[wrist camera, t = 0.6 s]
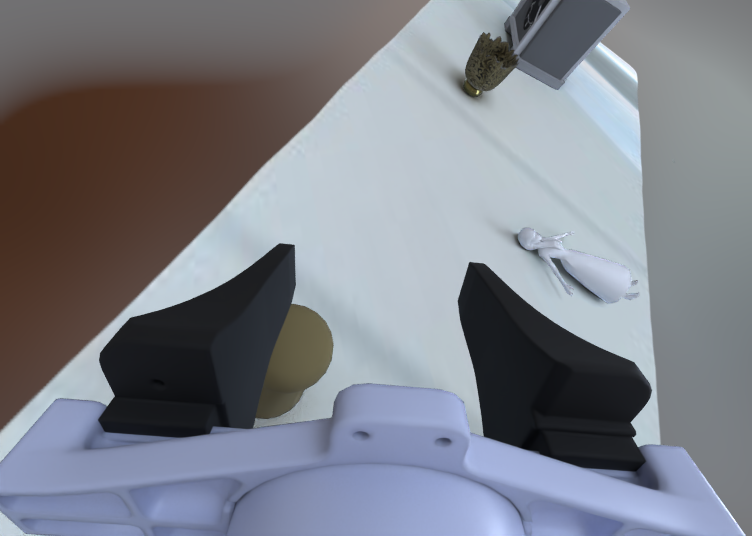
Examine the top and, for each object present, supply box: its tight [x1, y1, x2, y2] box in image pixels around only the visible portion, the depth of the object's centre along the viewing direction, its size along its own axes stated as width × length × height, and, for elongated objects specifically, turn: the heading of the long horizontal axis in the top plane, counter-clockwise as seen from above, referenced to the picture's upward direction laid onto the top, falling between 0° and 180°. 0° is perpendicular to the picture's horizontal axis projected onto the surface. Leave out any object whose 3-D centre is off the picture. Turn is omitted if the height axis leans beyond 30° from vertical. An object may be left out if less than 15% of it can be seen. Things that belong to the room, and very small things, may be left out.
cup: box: [463, 32, 519, 97], centre depth 59 cm, size 8×7×8 cm
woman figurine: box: [518, 228, 639, 303], centre depth 48 cm, size 12×4×18 cm
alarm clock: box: [504, 0, 630, 90], centre depth 73 cm, size 18×13×18 cm
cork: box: [255, 304, 333, 419], centre depth 24 cm, size 6×6×11 cm
